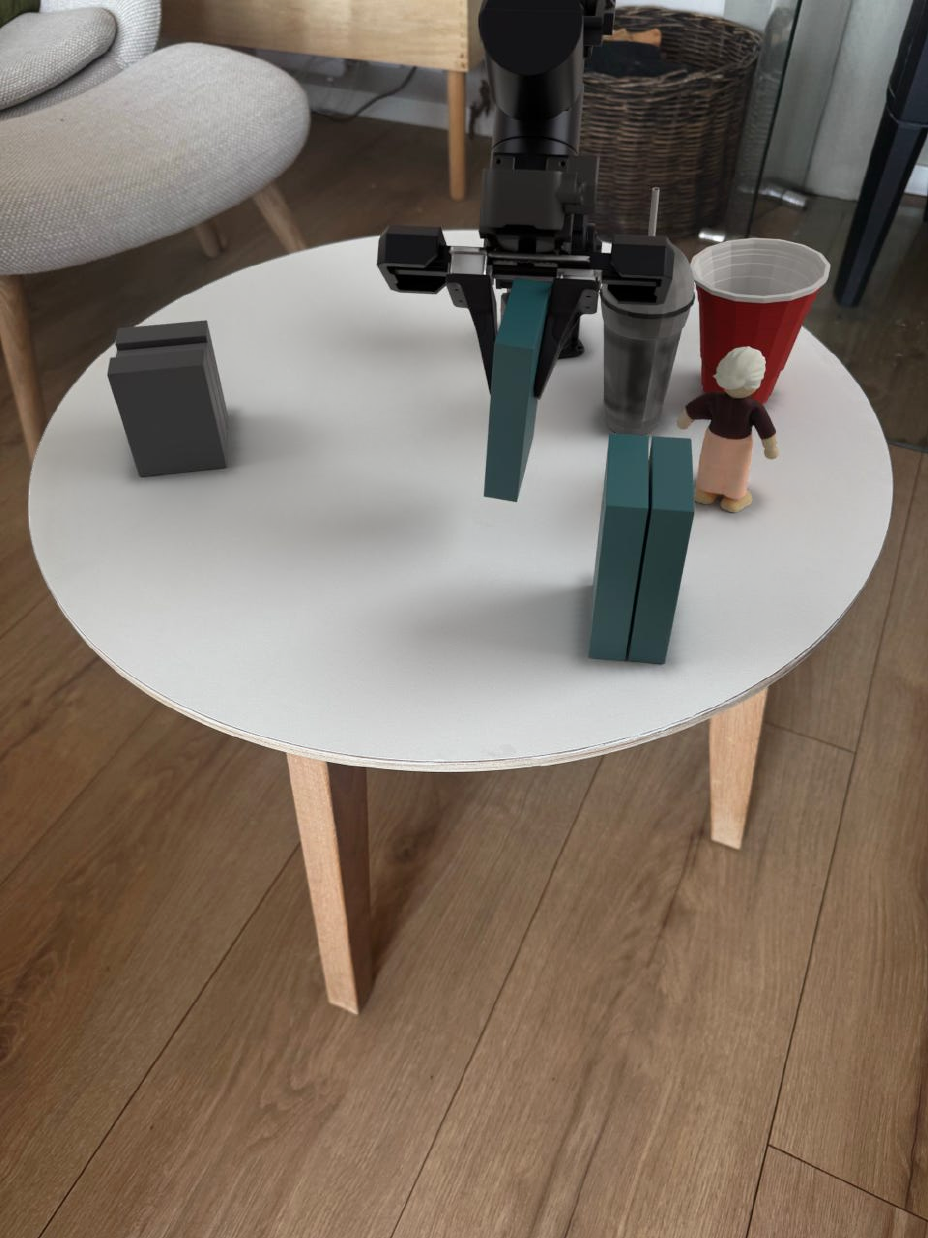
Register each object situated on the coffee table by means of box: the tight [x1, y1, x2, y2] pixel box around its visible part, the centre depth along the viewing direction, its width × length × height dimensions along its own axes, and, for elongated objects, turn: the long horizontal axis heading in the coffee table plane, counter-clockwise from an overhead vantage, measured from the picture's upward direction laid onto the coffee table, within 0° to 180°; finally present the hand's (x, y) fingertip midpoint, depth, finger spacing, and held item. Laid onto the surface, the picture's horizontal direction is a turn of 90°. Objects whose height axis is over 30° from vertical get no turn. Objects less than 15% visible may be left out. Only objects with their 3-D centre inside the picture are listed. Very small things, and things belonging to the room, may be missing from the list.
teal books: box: [588, 432, 696, 665], centre depth 63 cm, size 7×5×13 cm
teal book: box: [483, 278, 551, 503], centre depth 66 cm, size 7×2×13 cm, turn 168°
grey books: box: [106, 319, 229, 478], centre depth 79 cm, size 7×8×10 cm
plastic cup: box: [689, 237, 831, 406], centre depth 82 cm, size 11×11×12 cm
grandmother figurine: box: [676, 346, 780, 513], centre depth 72 cm, size 8×4×13 cm, turn 71°
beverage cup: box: [599, 187, 696, 436], centre depth 77 cm, size 7×7×20 cm
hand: (514, 397), depth 65 cm, fingers closed on teal book, 2 cm apart
